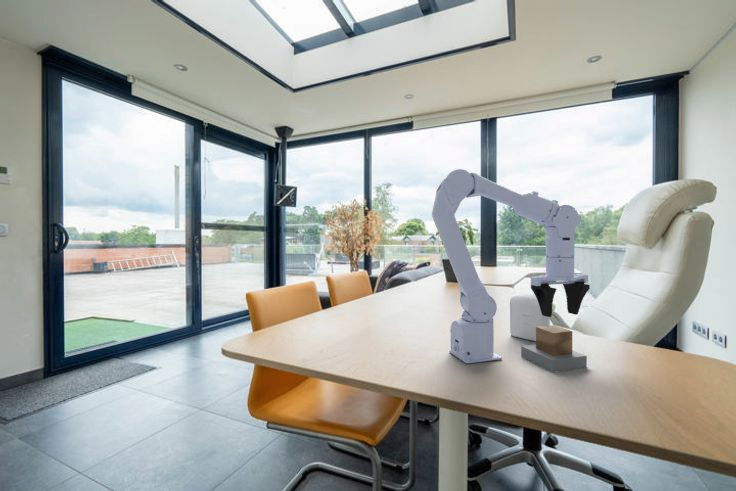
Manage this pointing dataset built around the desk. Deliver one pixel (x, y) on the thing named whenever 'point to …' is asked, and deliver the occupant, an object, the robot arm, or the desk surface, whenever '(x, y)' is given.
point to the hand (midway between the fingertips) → (559, 314)
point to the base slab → (554, 359)
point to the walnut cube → (554, 340)
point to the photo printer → (526, 316)
